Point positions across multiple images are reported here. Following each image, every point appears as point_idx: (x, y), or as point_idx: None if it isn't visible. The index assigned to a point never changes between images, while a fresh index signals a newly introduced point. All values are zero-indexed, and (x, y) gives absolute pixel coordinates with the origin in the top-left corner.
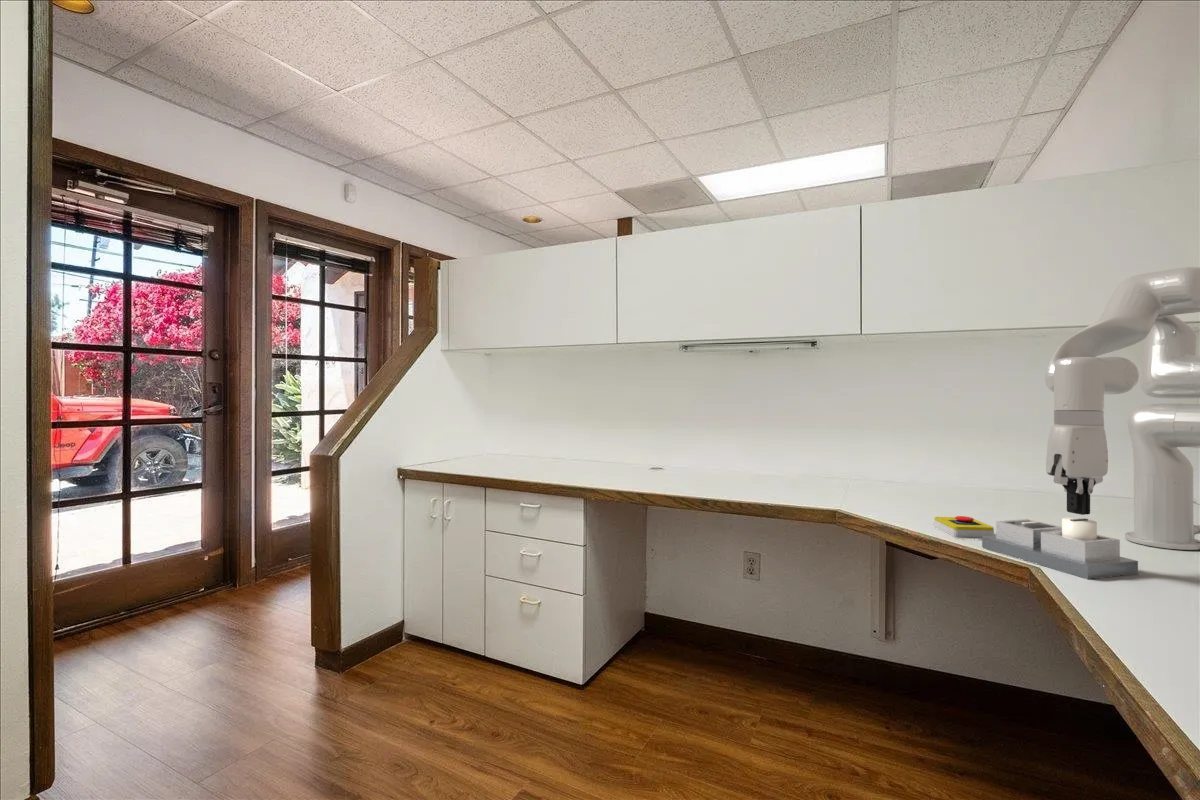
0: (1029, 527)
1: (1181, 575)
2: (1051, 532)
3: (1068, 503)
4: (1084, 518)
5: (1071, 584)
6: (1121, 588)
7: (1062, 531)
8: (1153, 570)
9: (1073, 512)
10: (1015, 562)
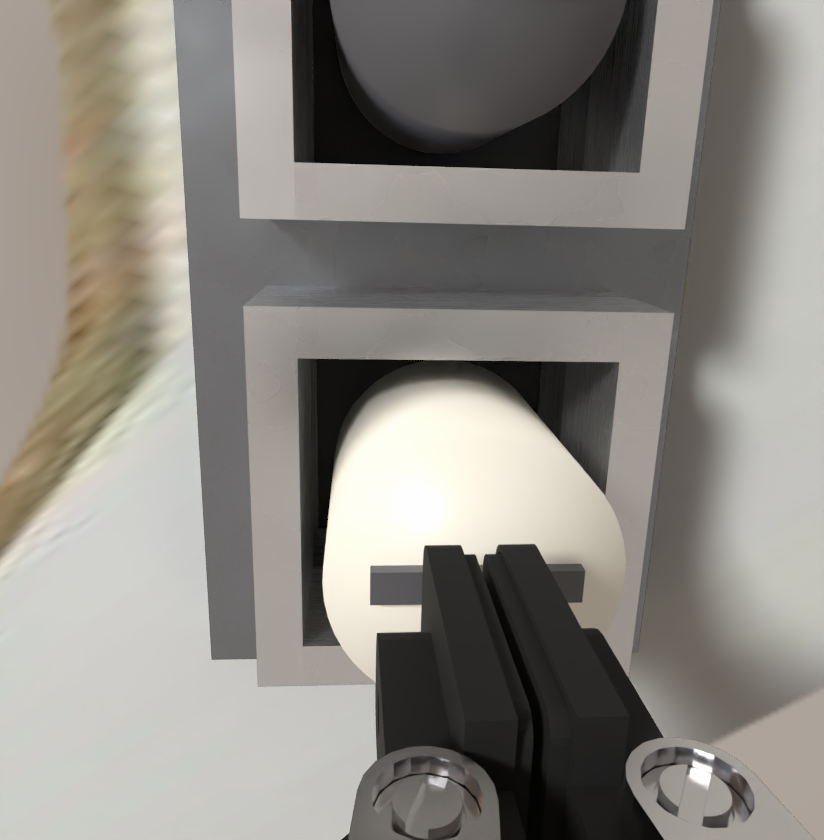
0: (359, 69)
1: (805, 666)
2: (332, 349)
3: (382, 663)
4: (577, 574)
5: (44, 652)
6: (252, 747)
7: (353, 448)
8: (779, 573)
9: (421, 620)
10: (94, 217)
